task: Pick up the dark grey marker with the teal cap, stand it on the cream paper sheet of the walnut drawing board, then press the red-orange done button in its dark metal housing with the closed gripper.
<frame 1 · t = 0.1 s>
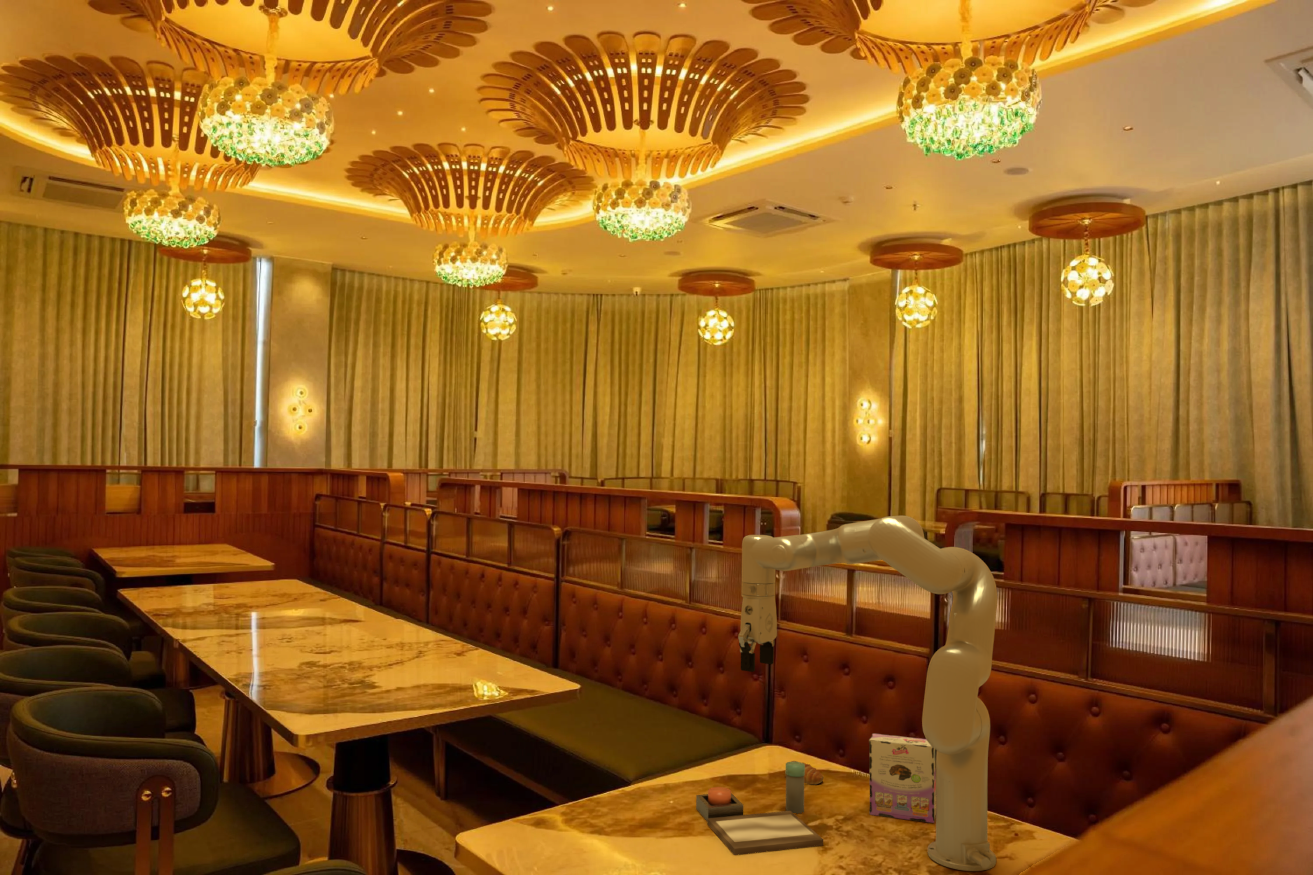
hand: (757, 666, 201), 31 cm above the table, tool pointing down, fingers open, 9 cm apart
button housing: (719, 813, 196), on the table
done button: (719, 796, 196), point 4 cm above the table, slide at 0.0 cm
drawing board: (763, 834, 185), on the table
pastry: (803, 780, 220), on the table
marker: (794, 810, 198), on the table
candy box: (902, 815, 197), on the table
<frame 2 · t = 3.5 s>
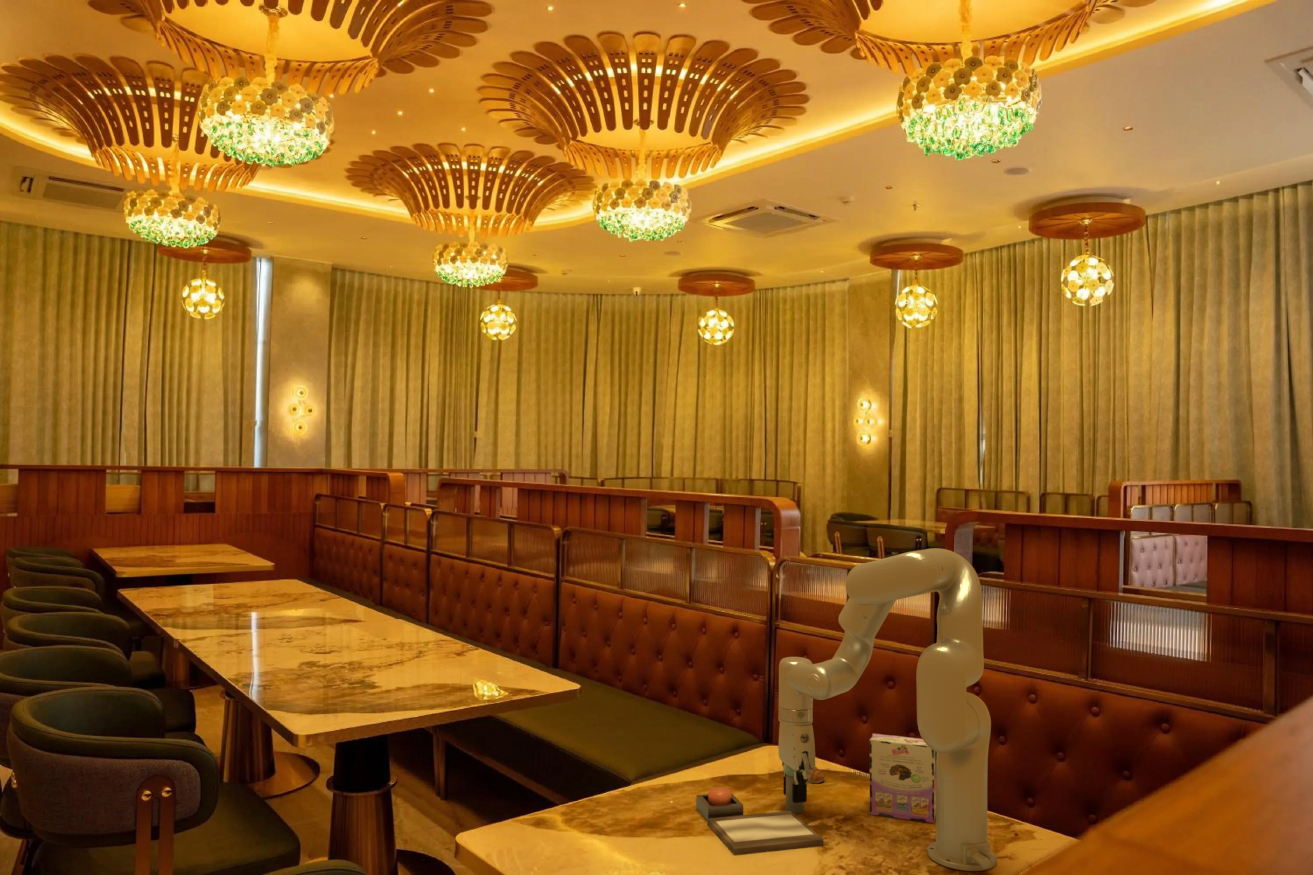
hand: (794, 797, 199), 3 cm above the table, tool pointing down, fingers closed on marker, 4 cm apart
marker: (794, 810, 198), on the table, touching gripper
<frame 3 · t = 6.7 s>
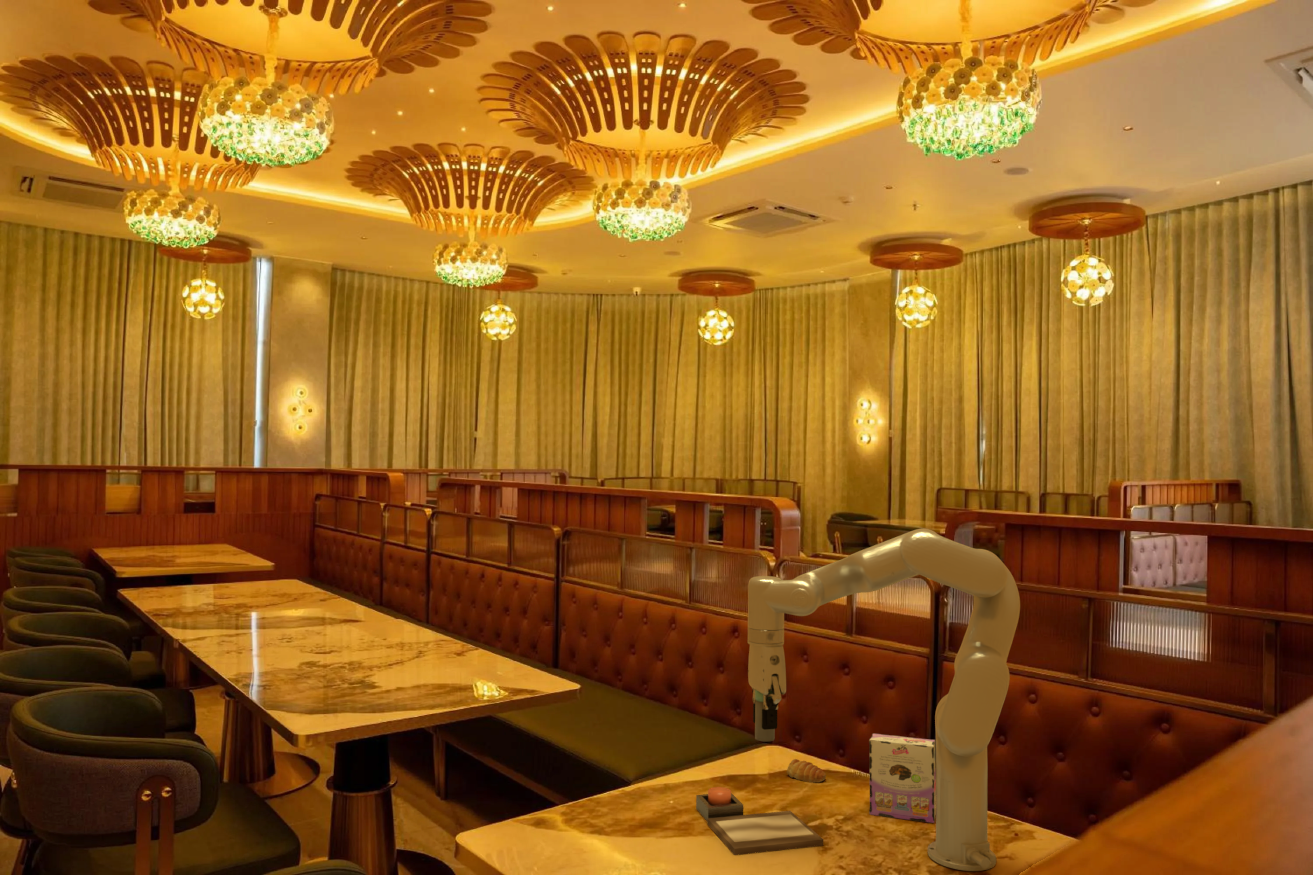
hand: (765, 724, 186), 22 cm above the table, tool pointing down, fingers closed on marker, 4 cm apart
marker: (764, 738, 186), point 19 cm above the table, touching gripper
when the fingers open (5 cm above the table, at t = 10.2 s): marker stays where it is, resting on drawing board.
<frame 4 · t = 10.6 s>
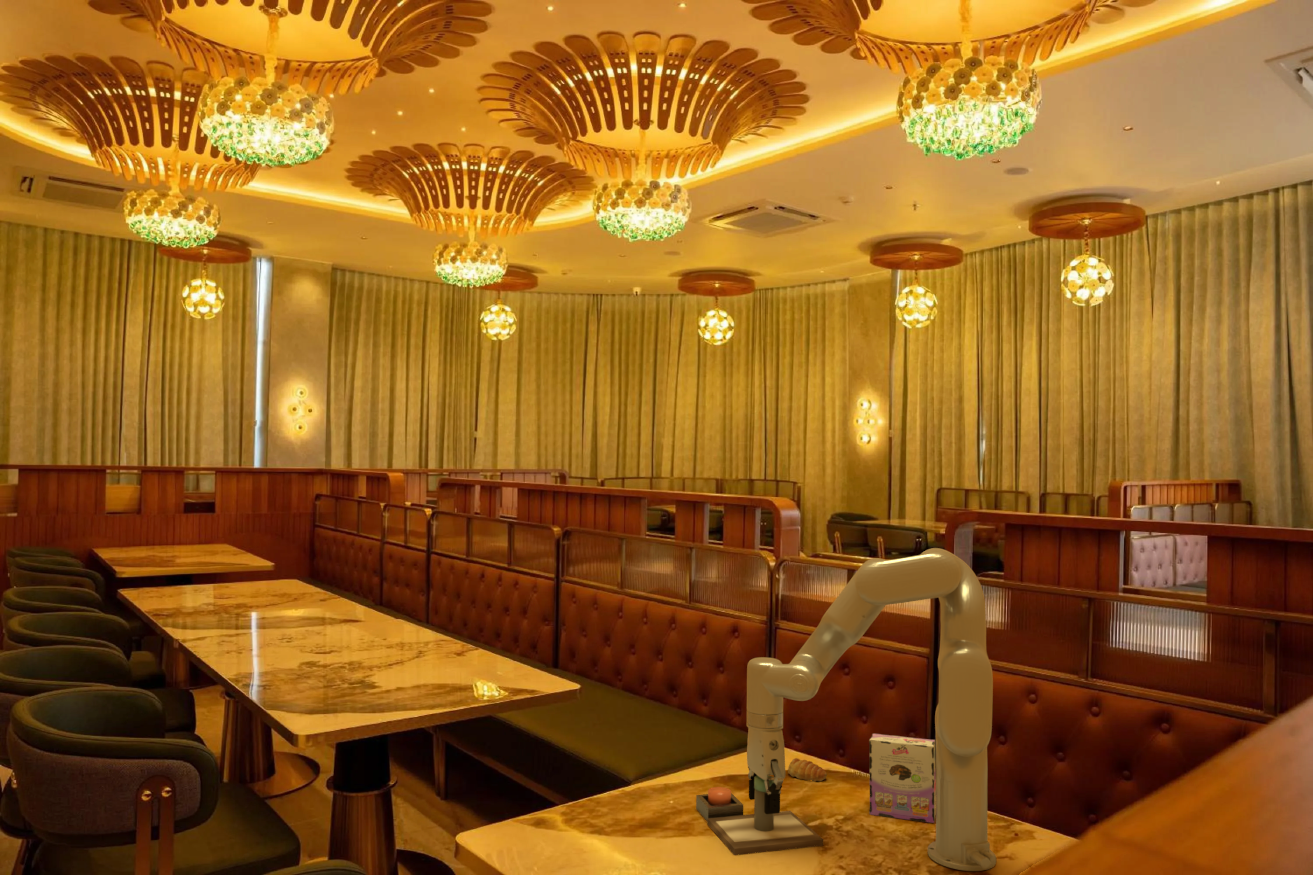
hand: (764, 805, 185), 6 cm above the table, tool pointing down, fingers open, 7 cm apart
marker: (763, 827, 185), point 1 cm above the table, touching drawing board
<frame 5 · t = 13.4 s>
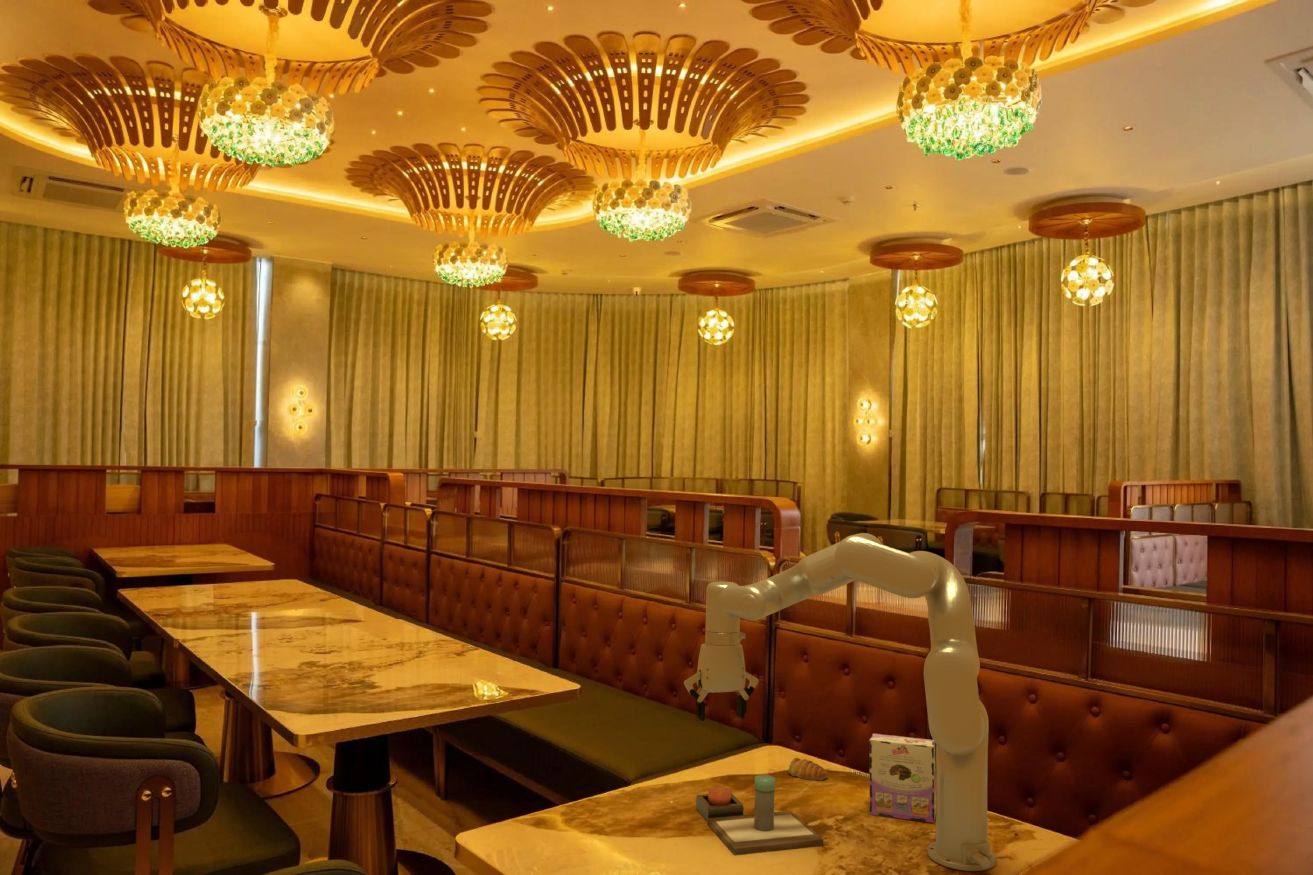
hand: (720, 717, 196), 21 cm above the table, tool pointing down, fingers open, 8 cm apart
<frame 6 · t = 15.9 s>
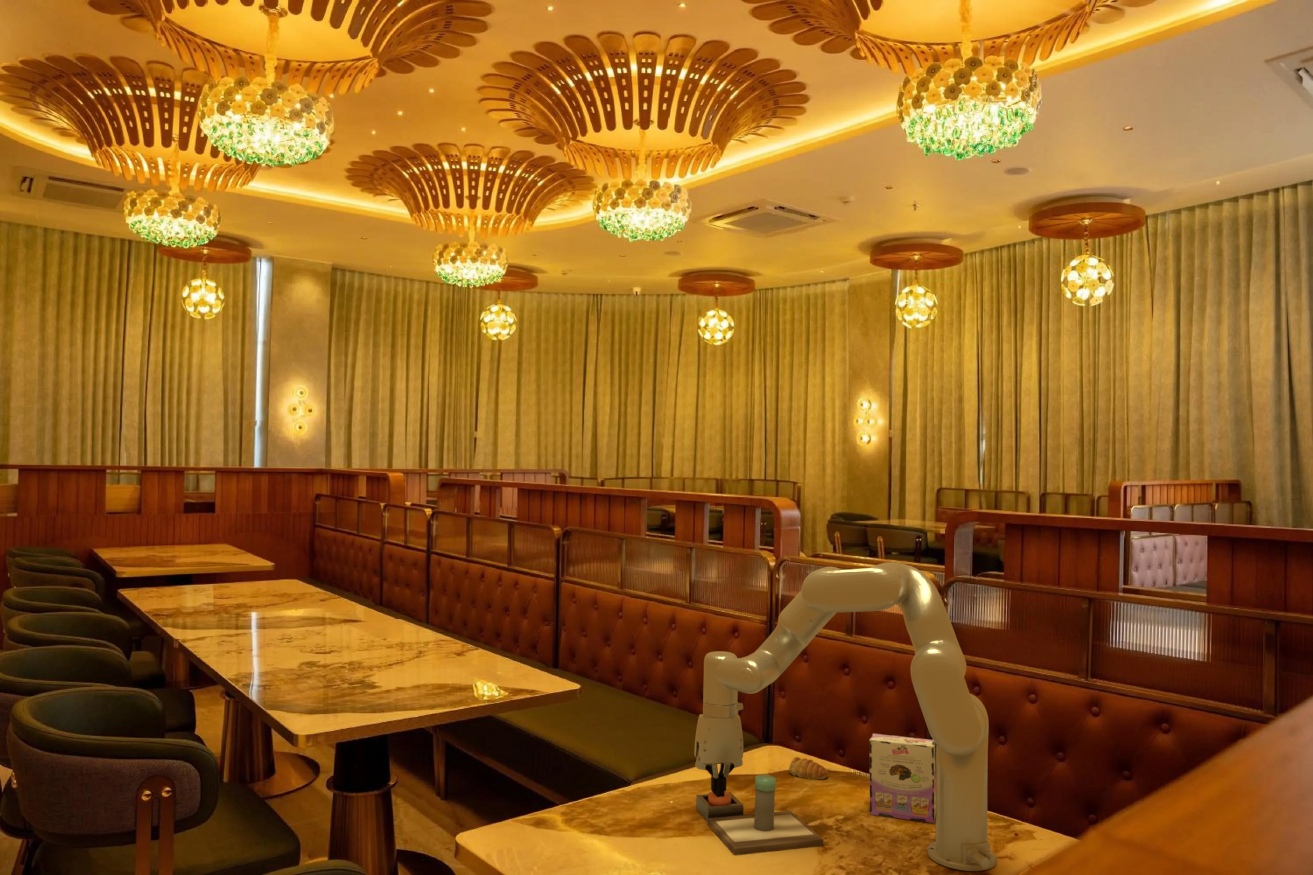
hand: (718, 794, 196), 4 cm above the table, tool pointing down, fingers closed
done button: (719, 800, 196), point 3 cm above the table, slide at 0.8 cm, touching gripper
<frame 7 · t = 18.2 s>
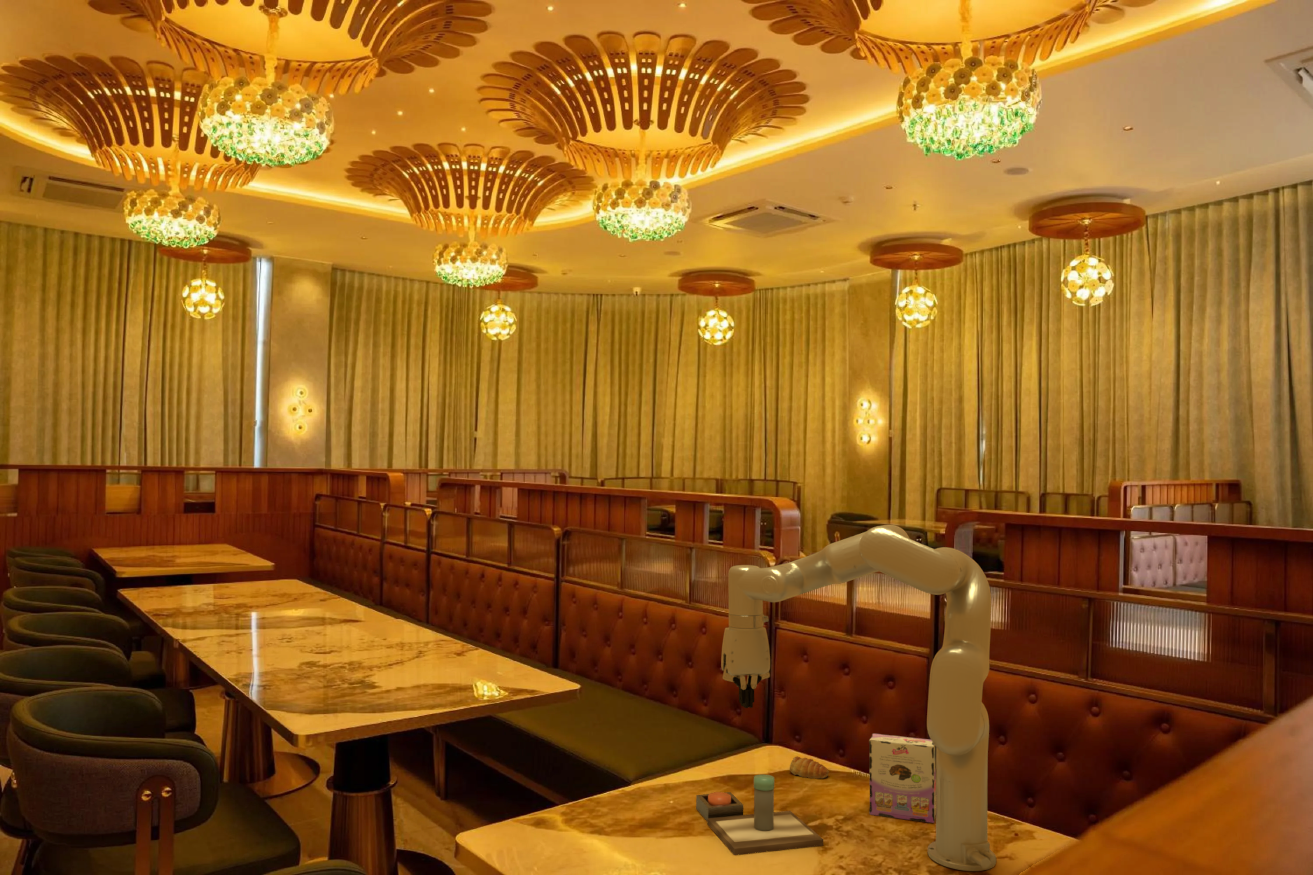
hand: (746, 706, 197), 23 cm above the table, tool pointing down, fingers closed
done button: (719, 801, 196), point 3 cm above the table, slide at 1.1 cm
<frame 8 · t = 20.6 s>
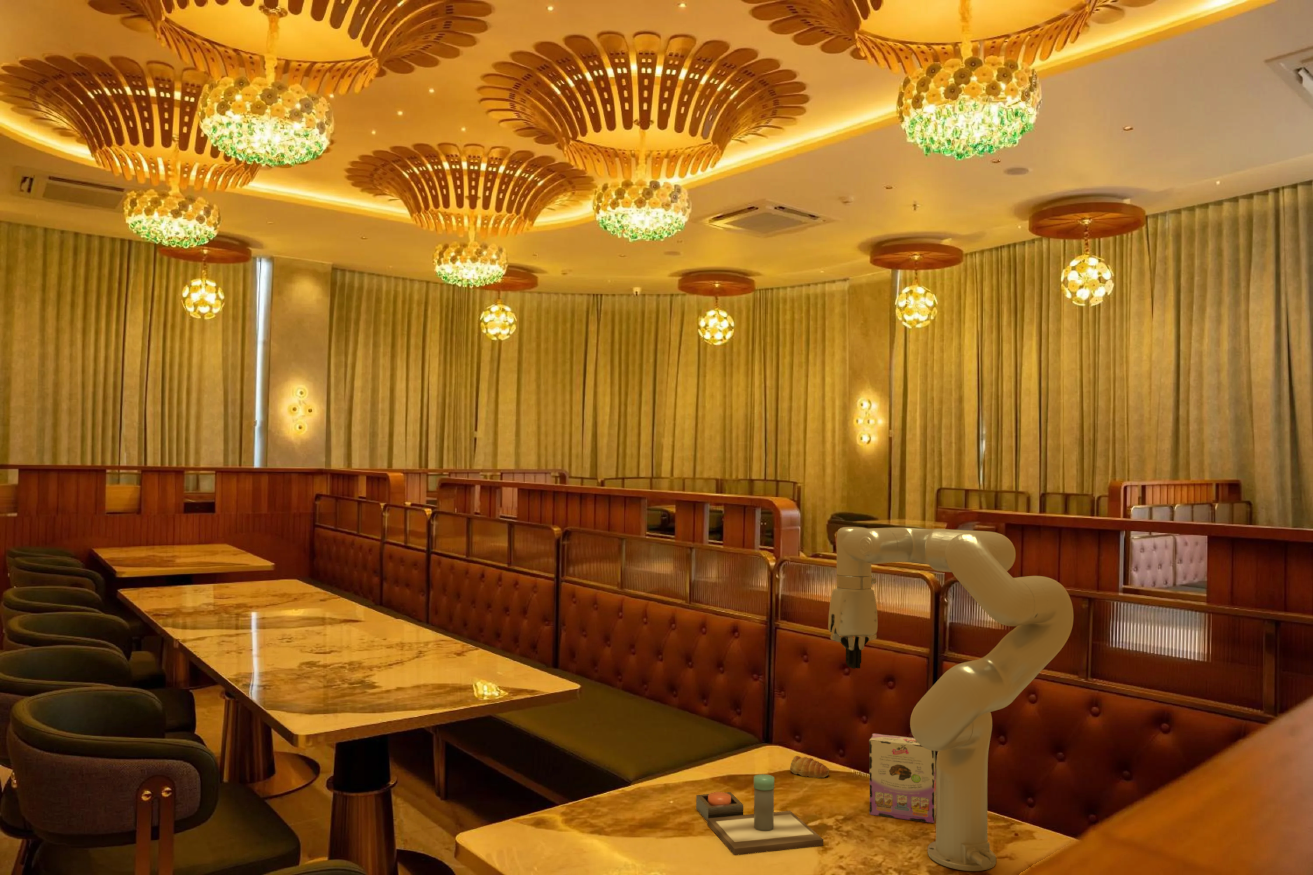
hand: (853, 667, 197), 32 cm above the table, tool pointing down, fingers closed
at the end: marker inside the target area on the drawing board (0.0 cm from its centre), point 1.5 cm above the drawing board's base; marker tilted 2°; done button slide at 1.1 cm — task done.
